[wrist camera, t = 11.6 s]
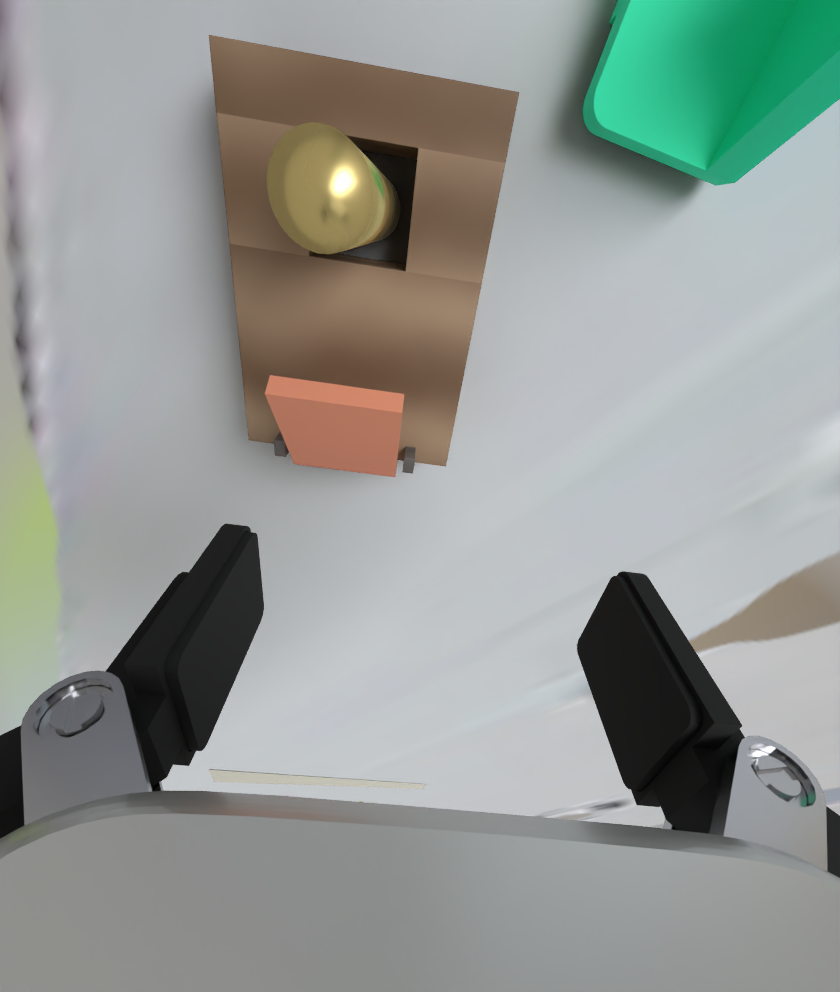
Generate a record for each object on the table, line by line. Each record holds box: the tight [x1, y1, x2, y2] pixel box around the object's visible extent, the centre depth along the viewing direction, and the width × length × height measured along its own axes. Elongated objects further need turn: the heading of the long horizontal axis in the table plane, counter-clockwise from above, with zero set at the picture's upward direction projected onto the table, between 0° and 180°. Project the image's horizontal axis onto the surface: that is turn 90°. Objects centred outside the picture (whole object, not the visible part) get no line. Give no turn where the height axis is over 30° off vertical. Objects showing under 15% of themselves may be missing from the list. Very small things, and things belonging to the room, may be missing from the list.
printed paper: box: [209, 770, 425, 789], centre depth 66 cm, size 30×30×2 cm
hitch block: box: [209, 35, 519, 473], centre depth 22 cm, size 17×12×5 cm
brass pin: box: [267, 122, 400, 254], centre depth 17 cm, size 3×3×12 cm
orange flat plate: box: [265, 375, 404, 477], centre depth 22 cm, size 7×6×1 cm
